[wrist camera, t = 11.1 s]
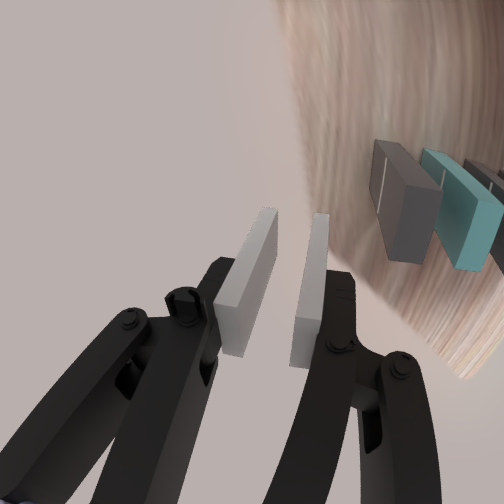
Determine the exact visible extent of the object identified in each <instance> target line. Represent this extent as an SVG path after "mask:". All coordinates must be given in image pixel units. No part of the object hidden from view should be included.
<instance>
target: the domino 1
mask: <svg viewBox="0 0 504 504" xmlns="http://www.w3.org/2000/svg"><path fill="white" fill-rule="evenodd" d="M369 189H370V192H371V196H372V199H373V202H374V206H375V209H376V213H377V216H378V220H379V223H380V227H381V231H382V235H383V239H384V243H385V247H386V251H387V256H388V260H391V261H399V262H407V263H415V264H422V263H423V260H424V258H425V255H426V252H427V249H428V246H429V243H430V240H431V237H432V233H433V230H434V227H435V223H436V220H437V216H438V213H439V209H440V205H441V202H442V198H443V193H444V191H443V190H442V189H441V188H440V187H439V186H438V184H437V183H436V182H435V181H434V180H433V179H432V177H431V176H430V175H429V174H428V173H427V172H426V171H425V170H424V169H423V167H422V166H421V165H420V164H419V163H418V162H417V161H416V160H415V159H414V158H413V157H412V156H411V155H410V154H409V153H408V152H407V151H406V150H405V149H404V148H403V147H402V146H401V145H400V144H399V143H394V142H388V141H382V140H376V139H375V146H374V155H373V164H372V172H371V179H370V186H369Z"/></svg>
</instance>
